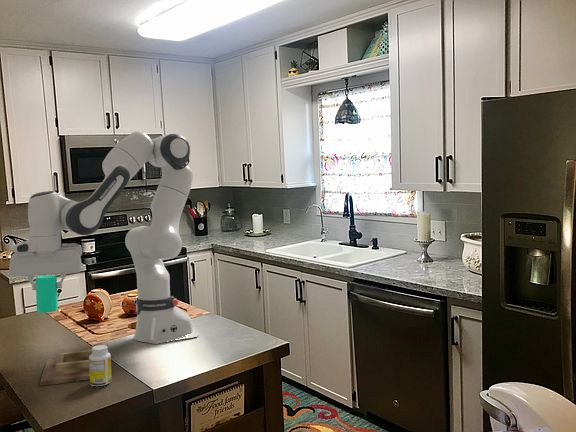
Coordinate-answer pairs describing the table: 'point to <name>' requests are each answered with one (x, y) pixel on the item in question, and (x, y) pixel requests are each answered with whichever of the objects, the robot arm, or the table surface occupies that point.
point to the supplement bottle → (100, 366)
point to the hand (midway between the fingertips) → (47, 288)
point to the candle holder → (67, 368)
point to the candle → (46, 294)
